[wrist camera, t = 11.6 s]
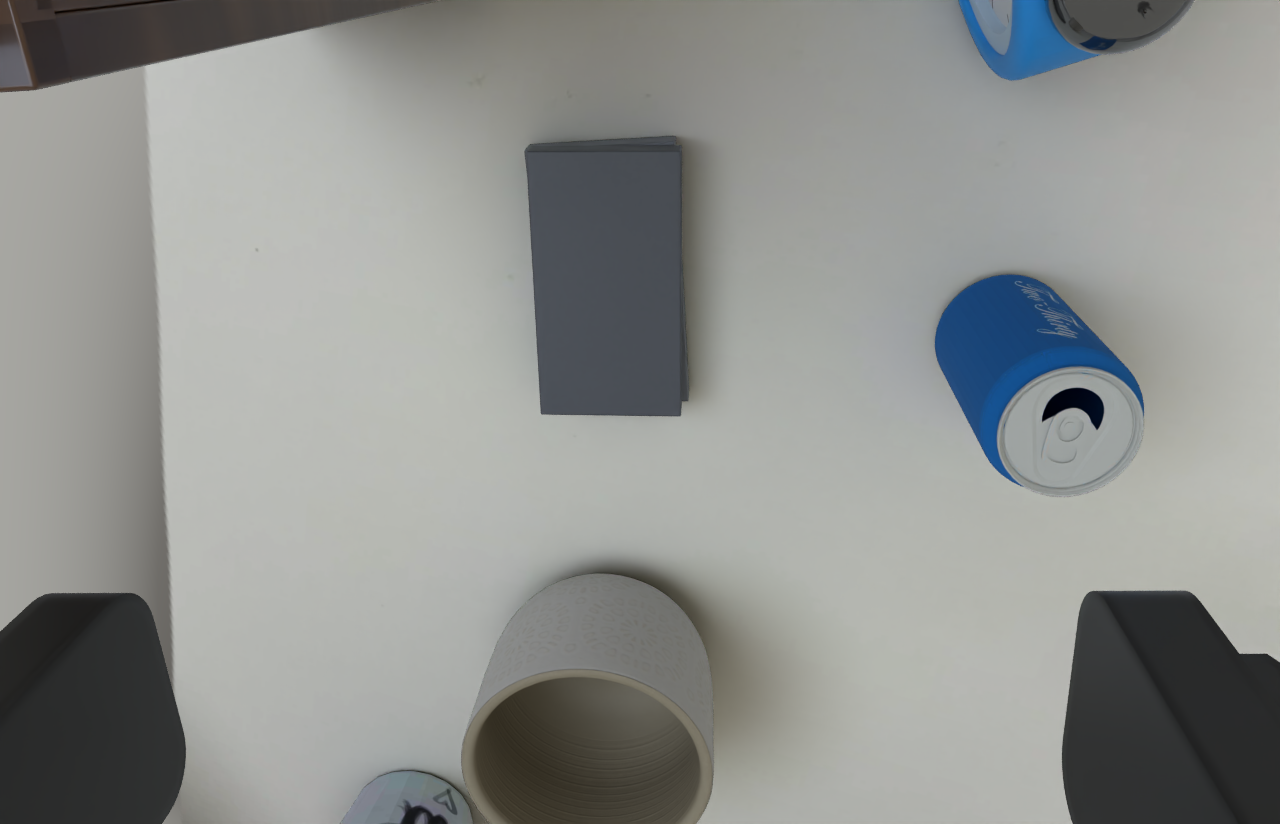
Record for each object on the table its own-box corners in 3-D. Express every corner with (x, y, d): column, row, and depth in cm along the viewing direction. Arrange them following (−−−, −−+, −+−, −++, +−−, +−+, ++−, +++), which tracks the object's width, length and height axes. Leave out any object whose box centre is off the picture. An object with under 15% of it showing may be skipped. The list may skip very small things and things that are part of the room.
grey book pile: (522, 140, 51) (510, 152, 48) (682, 131, 50) (680, 142, 48) (550, 398, 56) (541, 421, 54) (695, 392, 56) (694, 416, 53)
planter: (646, 755, 66) (632, 902, 56) (466, 665, 64) (418, 799, 54) (756, 612, 61) (763, 744, 51) (564, 509, 59) (533, 626, 49)
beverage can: (1082, 279, 52) (1179, 370, 41) (1044, 401, 54) (1126, 517, 44) (949, 261, 52) (1011, 346, 41) (918, 382, 55) (968, 493, 44)
